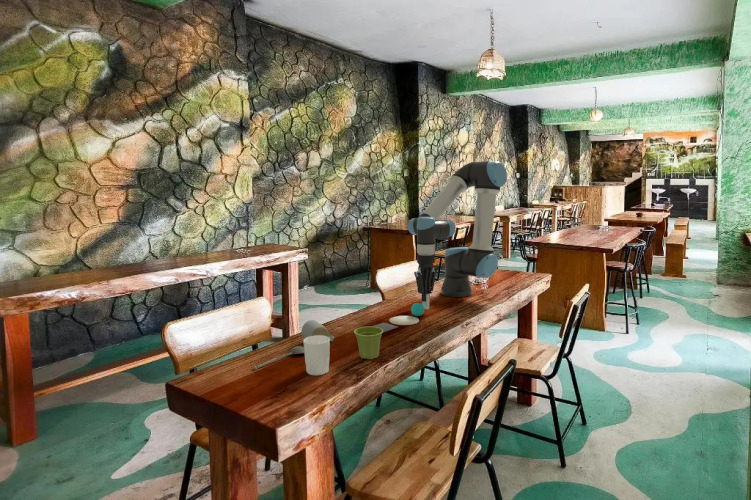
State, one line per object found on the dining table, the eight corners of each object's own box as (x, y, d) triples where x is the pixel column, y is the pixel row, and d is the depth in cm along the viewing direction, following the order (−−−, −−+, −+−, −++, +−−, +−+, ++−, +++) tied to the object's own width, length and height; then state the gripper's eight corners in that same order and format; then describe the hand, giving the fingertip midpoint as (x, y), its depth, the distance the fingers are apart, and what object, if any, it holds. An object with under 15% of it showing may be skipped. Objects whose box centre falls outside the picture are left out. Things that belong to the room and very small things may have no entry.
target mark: (402, 314, 202) (402, 314, 202) (425, 320, 194) (425, 319, 194) (383, 320, 193) (383, 320, 193) (405, 327, 185) (405, 326, 185)
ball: (409, 301, 199) (407, 314, 199) (419, 304, 195) (417, 317, 195) (417, 302, 203) (415, 314, 203) (427, 304, 199) (425, 317, 199)
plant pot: (362, 363, 149) (362, 337, 148) (350, 354, 158) (349, 329, 156) (388, 358, 154) (388, 332, 152) (375, 349, 162) (374, 324, 161)
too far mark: (383, 323, 191) (383, 322, 191) (398, 327, 185) (398, 326, 185) (369, 327, 185) (369, 327, 185) (384, 332, 179) (384, 331, 179)
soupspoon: (316, 355, 161) (303, 351, 165) (315, 345, 160) (303, 342, 165) (260, 373, 144) (248, 368, 149) (260, 362, 144) (248, 358, 148)
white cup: (305, 366, 148) (304, 335, 146) (330, 365, 149) (329, 334, 147) (303, 377, 140) (302, 344, 139) (330, 375, 141) (329, 343, 139)
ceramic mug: (312, 349, 163) (311, 327, 162) (301, 342, 170) (300, 321, 169) (338, 342, 169) (338, 322, 168) (327, 336, 176) (326, 316, 175)
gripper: (428, 251, 207) (428, 303, 210) (408, 254, 198) (409, 309, 201) (442, 252, 202) (441, 307, 205) (423, 256, 192) (422, 313, 196)
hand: (425, 308), depth 203 cm, fingers closed
